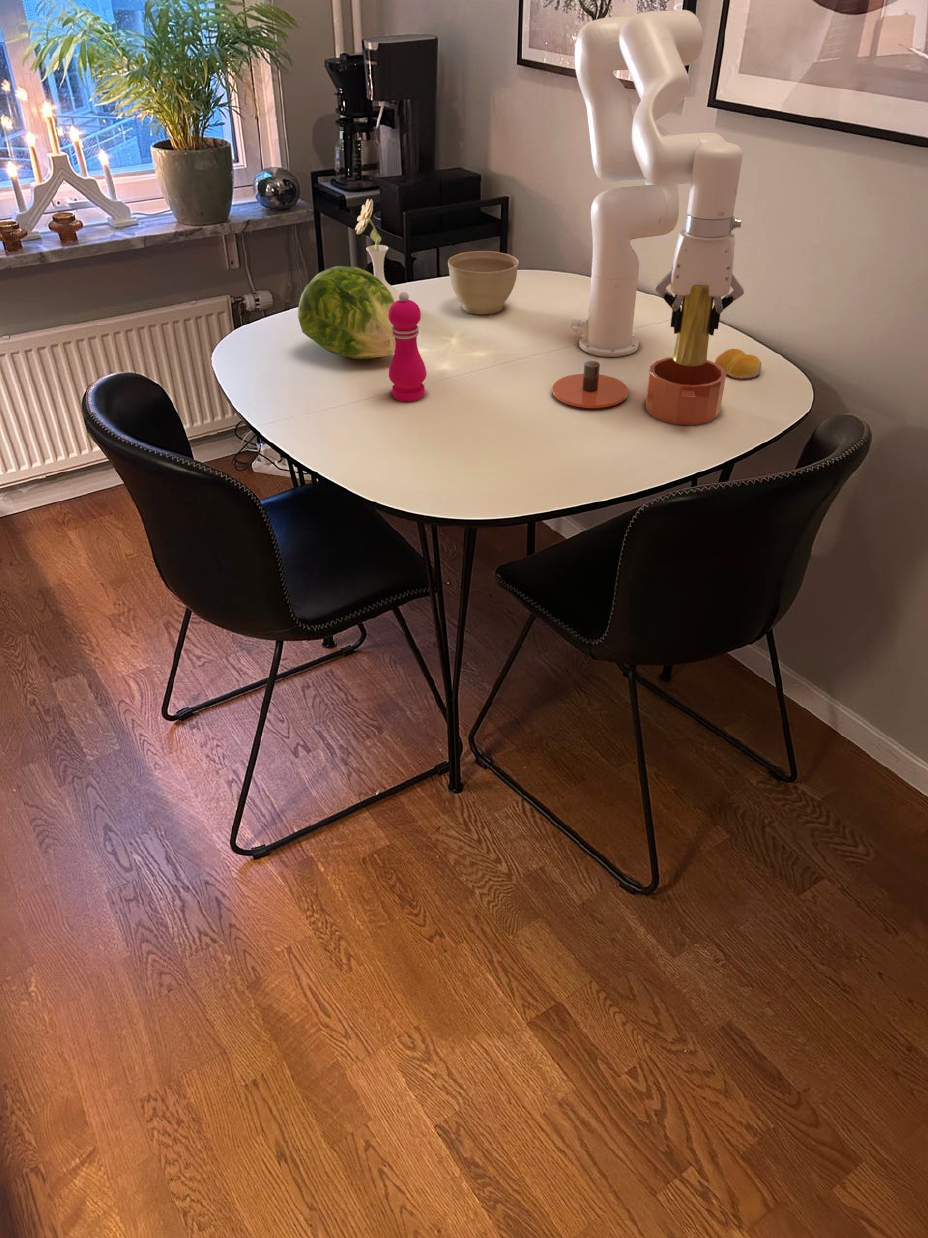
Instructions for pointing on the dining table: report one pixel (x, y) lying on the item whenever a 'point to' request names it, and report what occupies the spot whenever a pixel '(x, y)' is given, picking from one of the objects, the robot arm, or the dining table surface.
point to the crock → (685, 392)
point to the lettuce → (348, 313)
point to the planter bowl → (483, 279)
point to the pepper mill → (406, 351)
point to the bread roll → (739, 364)
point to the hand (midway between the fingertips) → (693, 330)
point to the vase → (694, 328)
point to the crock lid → (590, 388)
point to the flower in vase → (375, 247)
